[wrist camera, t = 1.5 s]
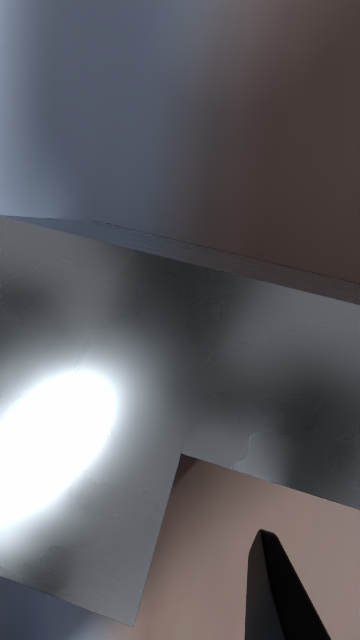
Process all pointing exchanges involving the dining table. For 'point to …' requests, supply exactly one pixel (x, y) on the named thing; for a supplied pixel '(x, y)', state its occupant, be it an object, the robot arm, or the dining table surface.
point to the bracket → (156, 394)
